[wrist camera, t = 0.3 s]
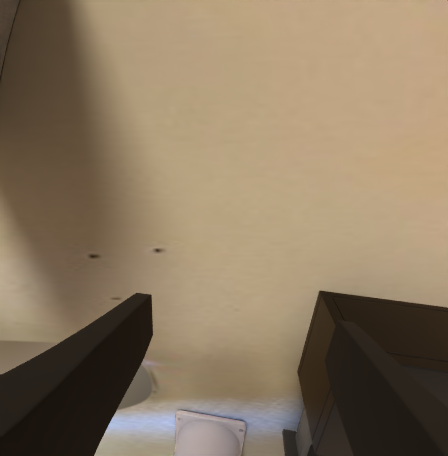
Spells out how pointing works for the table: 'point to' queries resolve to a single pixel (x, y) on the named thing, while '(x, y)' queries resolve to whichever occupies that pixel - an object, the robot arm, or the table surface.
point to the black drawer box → (386, 338)
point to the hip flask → (6, 24)
